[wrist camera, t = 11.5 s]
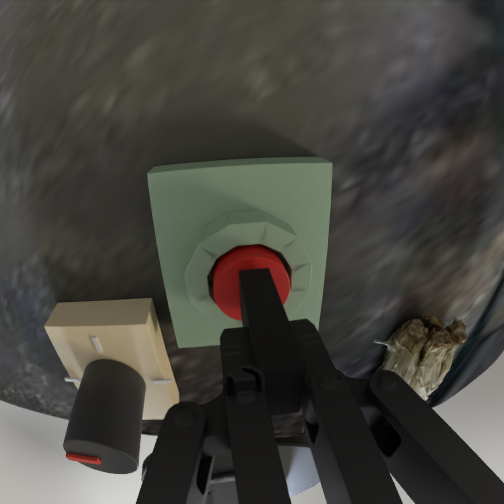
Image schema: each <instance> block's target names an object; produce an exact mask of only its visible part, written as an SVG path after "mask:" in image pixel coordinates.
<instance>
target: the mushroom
mask: <svg viewBox="0 0 504 504" xmlns="http://www.w3.org/2000/svg"><path fill="white" fill-rule="evenodd" d="M454 319H455V320H454V321H453V323H452V324H451V325H449V326H447V327H446V328H444V329H443V326H444V325H443V322H442V321H439V320H438V318H436V317H433V316H424V317H422V318H419V319H412V320H411V321H410V320H409V321H408V322H406V323H404V324H402V325H400V326H399V327H398V329H397V330H396V331H395V332H394V334H392V336H391V337H390V338H389V340H388V341H378V340H374V341H373V342H376V343H380V344H385V345H387V349H386V352H385V355H384V362H383V364H382V366H380V367H379V368H378V369H377V371H380V370H390V371H393V372H395V373H397V374H398V375H399V376H400V377H401V378H402V379H403V380H404V381H405V382H406V383H407V384H408V385H409V386H410V387H411V388H412V389H413V390H414V391H415V392H416V393H417V394H418V395H419V396H420V397H421V398H422V399H423V400H424V401H426V400H425V399H428V395H430V394H431V392H433V391H434V390H435V389H437V388H438V386H439V384H440V383H441V382H442V381H443V378H444V376H445V374H446V373H447V371H449V370H450V366H451V363H452V358H453V357H454V355H455V353H454V351H455V350H456V349H457V347H458V346H459V345H461V344H462V343H463V342H465V341H466V336H467V335H466V331H465V329H466V327H465V325H464V324H463V322H462V321H461V320H457V319H456V318H454ZM446 325H447V324H446ZM379 347H380V346H379ZM381 348H382V347H381Z"/></svg>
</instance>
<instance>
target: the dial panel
mask: <svg viewBox="0 0 504 504" xmlns="http://www.w3.org/2000/svg"><path fill="white" fill-rule="evenodd" d="M44 327H45V330H46V332H47V334H48V336H49V338H50V340H51V342H52V344H53V346H54V348H55V350H56V352H57V354H58V355H59V357H60V359H61V361H62V363H63V365H64V366H65V368H66V370H67V372H68V374H69V375H70V377H71V378H67V377H65V378H64V379H65V381H66V382H74V384H75V385H76V387H77V389H79V386H80V382H81V379H82V376H83V373H84V370H85V368H86V366H87V365H88V364H89V363H91V362H93V361H95V360H101V359H107V360H114V361H118V362H121V363H123V364H126V365H128V366H129V367H131V368H133V369H134V370H135V371H137V372H138V373H139V374H140V375H141V376H142V378H143V379H144V381H145V384H146V393H145V401H144V410H143V419H164V417H165V414H166V413H167V411H168V409H169V408H170V407H172V406H173V405H174V404H177V403H179V391H178V388H177V385H176V382H175V379H174V376H173V372H172V369H171V366H170V362H169V359H168V356H167V352H166V349H165V345H164V341H163V338H162V334H161V330H160V327H159V323H158V319H157V315H156V311H155V307H154V303H153V298H139V299H123V300H105V301H85V302H62V303H57V305H56V307H55V308H54V310H53V312H52V313H51V315H50V317H49V319H48V320H47V322H46V324H45V325H44Z"/></svg>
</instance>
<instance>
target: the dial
mask: <svg viewBox="0 0 504 504" xmlns="http://www.w3.org/2000/svg"><path fill="white" fill-rule="evenodd" d="M145 393H146V384H145V381H144V379H143V378H142V376H141V375H140V374H139V373H138V372H137V371H135V370H134V369H133V368H131V367H129V366H128V365H126V364H123V363H121V362H118V361H114V360H107V359H101V360H95V361H93V362H91V363H89V364H88V365H87V366H86V368H85V370H84V373H83V376H82V379H81V382H80V386H79V389H78V392H77V395H76V399H75V402H74V405H73V409H72V412H71V416H70V420H69V423H68V427H67V431H66V435H65V439H64V443H63V447H64V450H65V451H66V457H67V458H68V459H69V460H73V461H78V462H80V463H81V464H83V465H85V466H87V467H90V468H92V469H95V470H99V471H103V472H107V473H113V474H128V473H132V472H135V471H136V470H137V469H138V465H139V451H140V450H139V449H140V439H141V429H142V419H143V410H144V401H145Z"/></svg>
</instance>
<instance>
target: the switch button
mask: <svg viewBox="0 0 504 504" xmlns="http://www.w3.org/2000/svg"><path fill="white" fill-rule="evenodd" d="M262 268H269V270H270V272H271V275H272V278H273V280H274V283H275V285H276V288H277V291H278V293H279V296H280V298H281V301H282V304H283V305H284V304H285V302H286V300H287V298H288V296H289V292H290V280H289V277H288V274H287V272H286V270H285V268H284V266H283V264H282V262H281V260H280V258H279V256H278V255H277V254H276V253H275V252H274V251H273V250H272V249H270V248H269V247H267V246H265V245H262V244H252V245H240V246H236V247H234V248H232V249H231V250H229V251H228V252H226V253H225V254H223V255H221V256H220V257H219V259H218V260H217V262H216V264H215V266H214V269H213V291H214V299H215V302H216V304H217V306H218V307H219V309H220V310H221V311H222V312H223V313H224V314H226V315H227V316H229V317H230V318H233V319H235V320H239V321H242V318H241V308H240V291H239V273H238V271H240V270H251V269H262Z"/></svg>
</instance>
